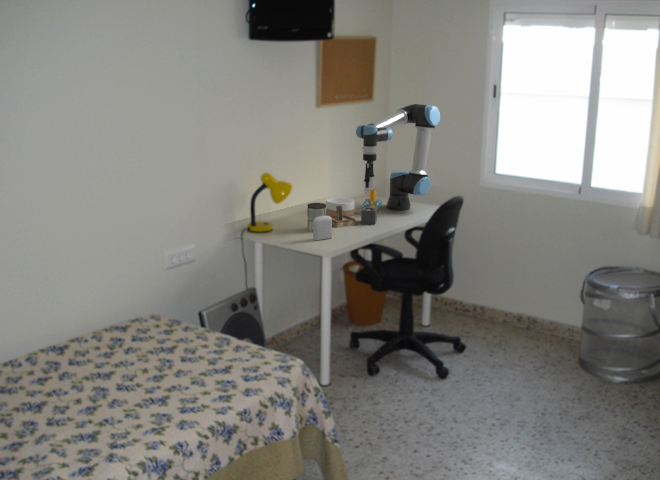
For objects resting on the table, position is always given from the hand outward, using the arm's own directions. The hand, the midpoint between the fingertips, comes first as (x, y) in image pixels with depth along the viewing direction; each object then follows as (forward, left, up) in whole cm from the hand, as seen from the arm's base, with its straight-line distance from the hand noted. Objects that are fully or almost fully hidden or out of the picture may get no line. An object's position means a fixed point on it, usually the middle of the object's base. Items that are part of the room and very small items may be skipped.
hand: (368, 190), depth 382 cm
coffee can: (+34, -3, -19) cm, 39 cm away
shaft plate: (+15, -8, -19) cm, 25 cm away
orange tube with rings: (-15, -16, -19) cm, 29 cm away
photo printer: (+41, +15, -19) cm, 48 cm away
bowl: (+1, -27, -19) cm, 33 cm away
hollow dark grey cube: (0, 0, -19) cm, 19 cm away
